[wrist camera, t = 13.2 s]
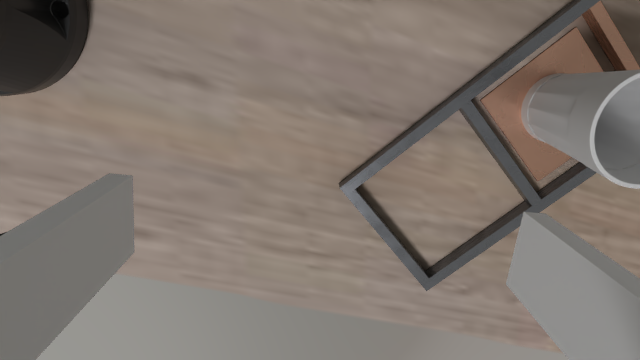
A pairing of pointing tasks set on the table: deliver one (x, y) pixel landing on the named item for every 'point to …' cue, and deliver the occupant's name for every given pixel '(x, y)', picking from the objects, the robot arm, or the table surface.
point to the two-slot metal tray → (505, 130)
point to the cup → (590, 120)
